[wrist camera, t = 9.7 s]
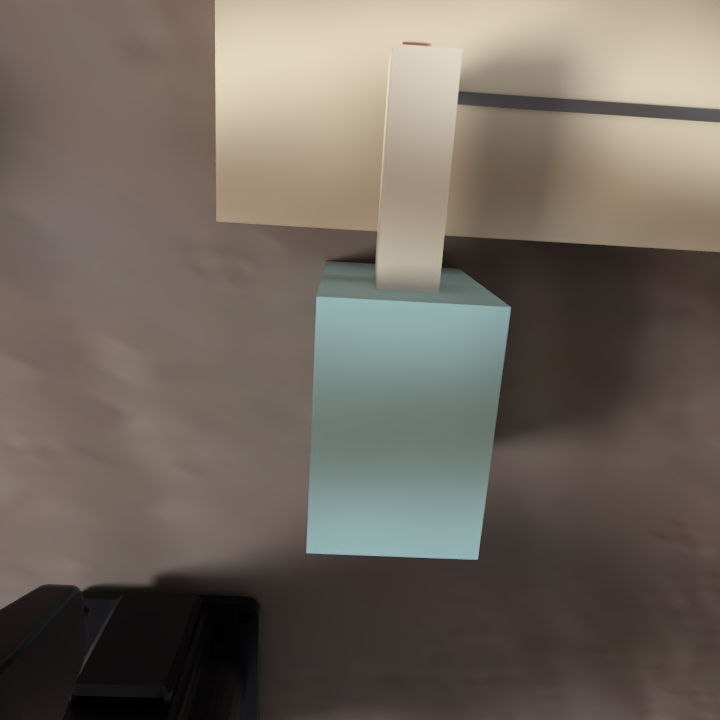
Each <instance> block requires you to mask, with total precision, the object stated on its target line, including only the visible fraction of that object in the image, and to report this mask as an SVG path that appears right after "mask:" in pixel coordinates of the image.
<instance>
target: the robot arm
mask: <svg viewBox="0 0 720 720" xmlns="http://www.w3.org/2000/svg"><path fill="white" fill-rule="evenodd" d="M83 605H84V606H86V607H87V608H88V609H87V610H86V609H84V606H83ZM240 611H248V612H249V613H250V615H243V614H241V613H240ZM259 665H260V605H259V604H258V602H257V601H256V600H254V599H253V598H250V597H238V596H211V595H185V594H157V593H130V592H101V591H81V590H80V589H79V588H78V587H77V586H74V585H54V584H47V585H42V586H40V587H38V588H36V589H35V590H33V591H31V592H30V593H28V594H26V595H24V596H23V597H21V598H19V599H18V600H16V601H14V602H13V603H11V604H9V605H7V606H6V607H4V608H2V609H1V610H0V720H259Z"/></svg>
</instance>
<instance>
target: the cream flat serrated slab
mask: <svg viewBox="0 0 720 720" xmlns="http://www.w3.org/2000/svg"><path fill="white" fill-rule="evenodd" d="M394 44H405V45H419V46H433V47H447V48H460V49H463V51H462V61H461V71H460V82H459V92H458V102H457V112H456V123H455V133H454V143H453V154H452V164H451V174H450V184H449V195H448V205H447V215H446V226H445V235H447V236H463V237H480V238H496V239H513V240H529V241H546V242H563V243H579V244H596V245H612V246H629V247H645V248H662V249H678V250H695V251H711V252H720V0H215V72H216V222H232V223H248V224H265V225H281V226H298V227H314V228H331V229H347V230H364V231H378V217H379V202H380V187H381V172H382V157H383V141H384V126H385V111H386V96H387V81H388V66H389V57H390V54H391V51H392V48H393V45H394Z"/></svg>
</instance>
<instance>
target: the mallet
mask: <svg viewBox="0 0 720 720" xmlns="http://www.w3.org/2000/svg"><path fill="white" fill-rule="evenodd" d="M462 51H463V49H460V48H447V47H433V46H419V45H405V44H394V45H393V48H392V51H391V54H390V57H389V66H388V81H387V96H386V111H385V126H384V141H383V157H382V172H381V187H380V202H379V217H378V232H377V247H376V262H375V264H371V263H353V262H336V261H326V262H325V266H324V270H323V274H322V278H321V281H320V285H319V289H318V293H317V300H316V325H315V350H314V375H313V400H312V424H311V449H310V474H309V499H308V524H307V549H306V553H313V554H339V555H365V556H391V557H417V558H444V559H470V560H478V555H479V547H480V540H481V532H482V524H483V517H484V509H485V502H486V494H487V487H488V479H489V471H490V464H491V456H492V449H493V441H494V433H495V426H496V418H497V411H498V403H499V395H500V388H501V380H502V373H503V365H504V357H505V350H506V342H507V335H508V327H509V319H510V312H511V307H510V306H509V305H507V304H506V303H505V302H503V301H502V300H501V299H499V298H498V297H497V296H495V295H494V294H493V293H491V292H490V291H488V290H487V289H486V288H484V287H483V286H482V285H480V284H479V283H478V282H476V281H475V280H474V279H472V278H471V277H470V276H468V275H467V274H465V273H464V272H463V271H461V270H460V269H458V268H441V267H442V257H443V246H444V236H445V226H446V215H447V205H448V195H449V184H450V174H451V164H452V154H453V143H454V133H455V123H456V112H457V102H458V92H459V82H460V71H461V61H462Z"/></svg>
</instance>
